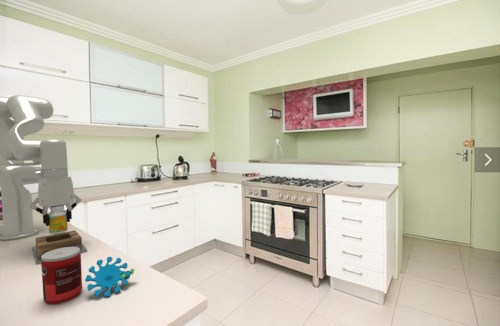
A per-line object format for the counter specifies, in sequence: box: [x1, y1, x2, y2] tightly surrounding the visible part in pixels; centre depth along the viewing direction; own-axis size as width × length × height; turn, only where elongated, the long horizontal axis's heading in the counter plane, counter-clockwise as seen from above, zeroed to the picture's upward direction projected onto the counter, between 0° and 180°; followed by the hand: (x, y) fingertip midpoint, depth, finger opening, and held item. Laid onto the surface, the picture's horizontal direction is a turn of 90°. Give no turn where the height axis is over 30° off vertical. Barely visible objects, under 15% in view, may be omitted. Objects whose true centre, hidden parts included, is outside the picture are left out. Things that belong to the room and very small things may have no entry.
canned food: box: [40, 247, 83, 305], centre depth 61 cm, size 8×8×11 cm
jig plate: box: [31, 243, 88, 265], centre depth 90 cm, size 18×14×3 cm
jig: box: [35, 229, 83, 258], centre depth 90 cm, size 12×12×4 cm
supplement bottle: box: [48, 205, 69, 235], centre depth 90 cm, size 5×5×10 cm
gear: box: [84, 256, 135, 298], centre depth 65 cm, size 11×6×10 cm
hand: (58, 222), depth 90 cm, fingers closed on supplement bottle, 5 cm apart
